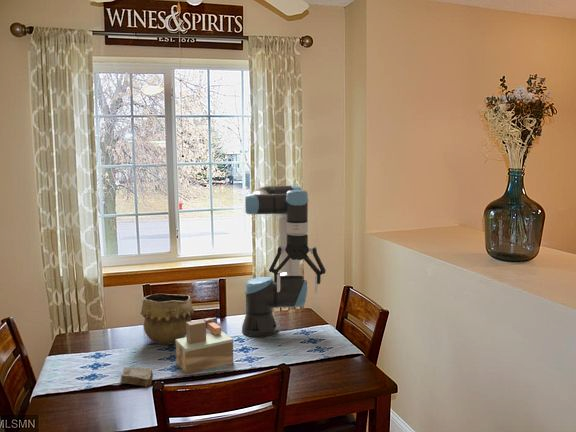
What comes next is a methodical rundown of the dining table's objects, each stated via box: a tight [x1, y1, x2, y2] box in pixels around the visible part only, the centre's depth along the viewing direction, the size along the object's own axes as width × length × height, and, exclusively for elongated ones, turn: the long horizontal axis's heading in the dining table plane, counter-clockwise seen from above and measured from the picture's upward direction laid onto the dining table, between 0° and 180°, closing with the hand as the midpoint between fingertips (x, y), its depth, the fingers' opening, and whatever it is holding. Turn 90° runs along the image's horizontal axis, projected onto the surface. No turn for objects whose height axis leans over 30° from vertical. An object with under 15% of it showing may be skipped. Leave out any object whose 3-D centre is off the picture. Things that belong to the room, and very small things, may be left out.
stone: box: [120, 367, 154, 388], centre depth 169 cm, size 15×8×3 cm, turn 70°
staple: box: [202, 317, 218, 325], centre depth 192 cm, size 2×6×13 cm, turn 121°
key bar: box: [201, 317, 222, 335], centre depth 190 cm, size 12×3×3 cm, turn 31°
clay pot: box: [140, 293, 195, 346], centre depth 201 cm, size 21×21×20 cm
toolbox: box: [175, 341, 234, 375], centre depth 181 cm, size 11×18×8 cm, turn 121°
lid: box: [175, 318, 234, 352], centre depth 181 cm, size 11×18×8 cm, turn 121°
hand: (297, 291), depth 178 cm, fingers open, 13 cm apart
